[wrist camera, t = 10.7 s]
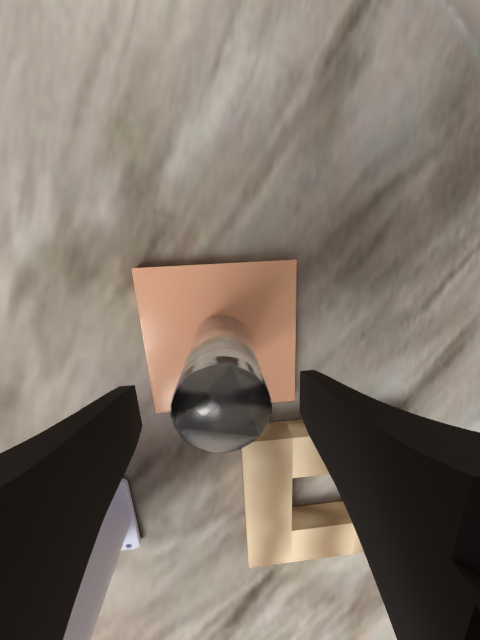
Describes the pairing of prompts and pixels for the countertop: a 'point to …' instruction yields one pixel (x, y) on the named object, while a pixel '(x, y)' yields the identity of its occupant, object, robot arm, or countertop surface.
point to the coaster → (211, 300)
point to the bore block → (289, 501)
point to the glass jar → (221, 389)
